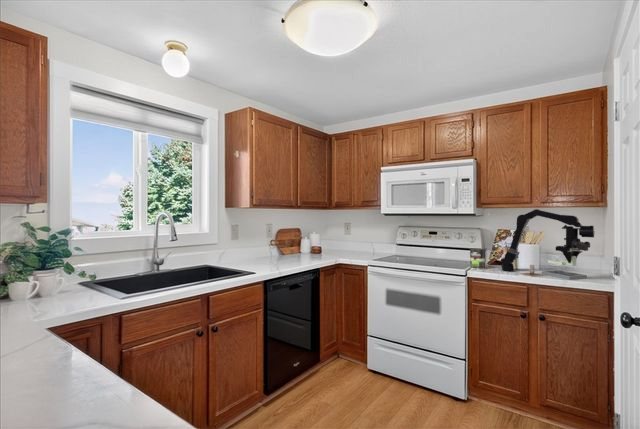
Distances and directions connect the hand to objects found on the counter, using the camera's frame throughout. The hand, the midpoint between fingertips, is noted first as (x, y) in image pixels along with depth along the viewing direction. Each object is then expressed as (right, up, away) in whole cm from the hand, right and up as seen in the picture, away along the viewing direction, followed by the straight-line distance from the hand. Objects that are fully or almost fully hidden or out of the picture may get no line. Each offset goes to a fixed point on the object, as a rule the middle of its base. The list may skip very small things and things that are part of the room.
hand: (571, 262), depth 195 cm
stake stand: (-16, -10, +11) cm, 22 cm away
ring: (-1, -1, +5) cm, 5 cm away
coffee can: (-37, -10, +39) cm, 55 cm away
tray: (-1, -10, +5) cm, 11 cm away
